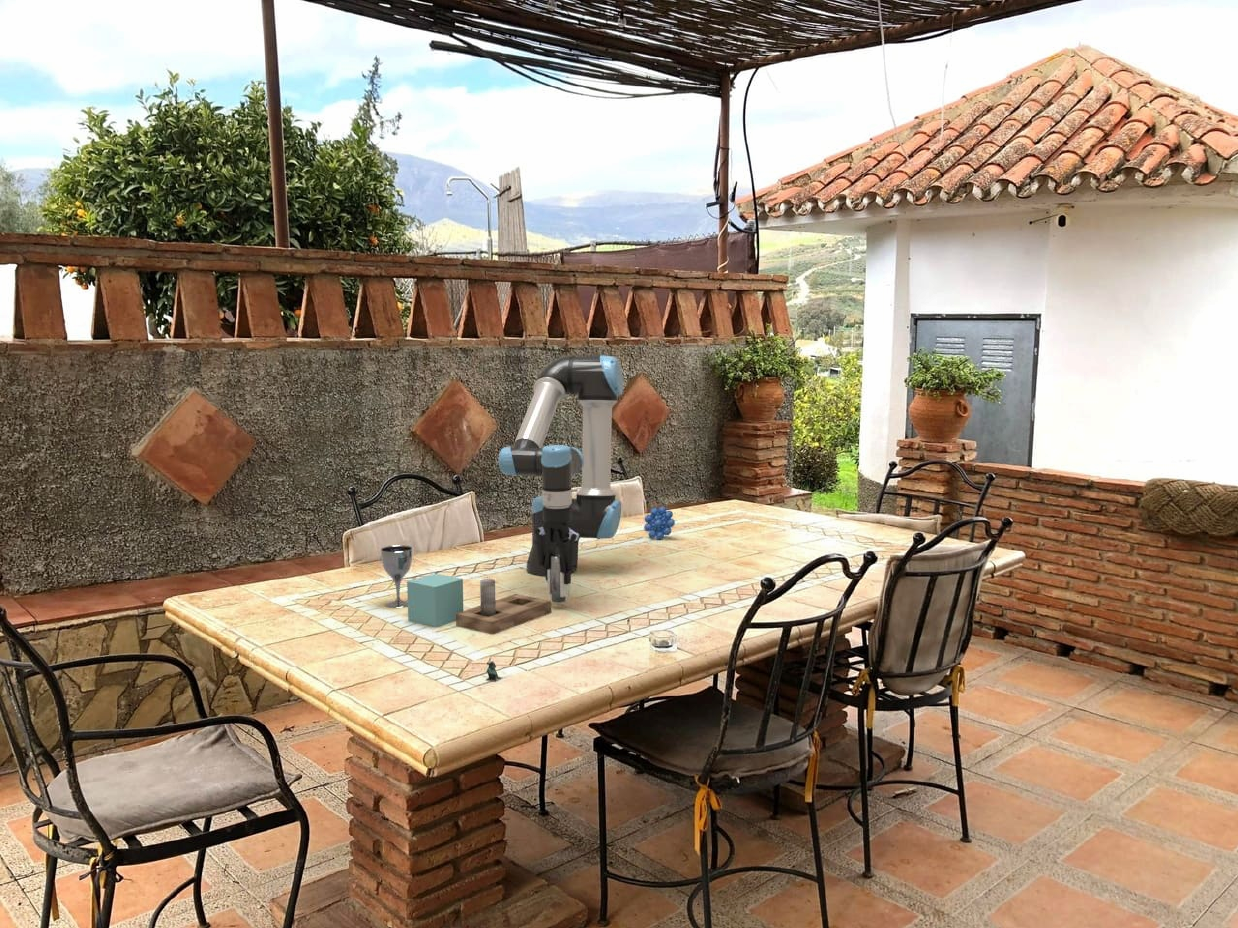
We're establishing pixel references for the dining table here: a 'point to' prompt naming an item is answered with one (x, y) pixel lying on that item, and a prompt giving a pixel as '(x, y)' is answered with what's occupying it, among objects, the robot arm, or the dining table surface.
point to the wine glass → (397, 568)
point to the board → (501, 610)
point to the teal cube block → (434, 599)
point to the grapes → (659, 522)
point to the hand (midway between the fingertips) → (558, 594)
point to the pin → (556, 578)
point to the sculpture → (492, 672)
